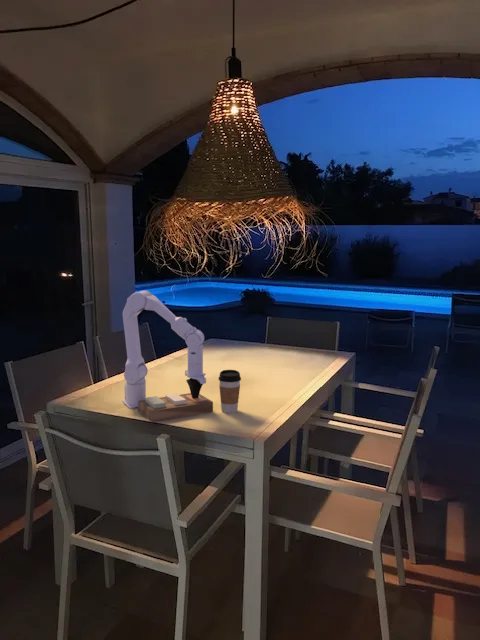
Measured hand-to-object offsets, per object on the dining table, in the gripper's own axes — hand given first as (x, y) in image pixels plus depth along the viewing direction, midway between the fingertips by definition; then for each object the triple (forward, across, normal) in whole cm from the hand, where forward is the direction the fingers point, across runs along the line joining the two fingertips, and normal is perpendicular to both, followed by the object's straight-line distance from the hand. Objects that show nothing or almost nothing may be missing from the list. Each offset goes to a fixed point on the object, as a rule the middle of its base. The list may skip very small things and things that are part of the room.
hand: (195, 397), depth 202 cm
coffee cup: (+4, -9, -10) cm, 14 cm away
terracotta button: (+4, 0, 0) cm, 4 cm away
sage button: (+3, 0, +16) cm, 16 cm away
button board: (+4, 0, +8) cm, 9 cm away
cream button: (+3, 0, +8) cm, 8 cm away
